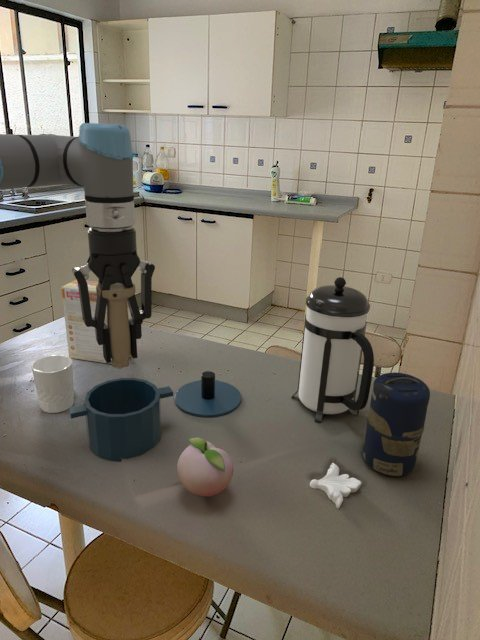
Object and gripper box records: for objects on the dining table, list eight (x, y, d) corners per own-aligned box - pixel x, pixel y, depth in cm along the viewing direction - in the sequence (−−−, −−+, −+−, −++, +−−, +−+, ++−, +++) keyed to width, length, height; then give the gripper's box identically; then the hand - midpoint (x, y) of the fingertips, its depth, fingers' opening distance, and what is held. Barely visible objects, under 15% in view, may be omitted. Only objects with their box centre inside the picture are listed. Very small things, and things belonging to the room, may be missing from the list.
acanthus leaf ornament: (331, 467, 84) (333, 459, 84) (364, 488, 80) (365, 479, 79) (305, 486, 79) (306, 477, 79) (338, 509, 75) (340, 500, 74)
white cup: (41, 419, 95) (35, 375, 91) (34, 400, 101) (28, 359, 97) (81, 408, 99) (76, 367, 95) (71, 391, 105) (67, 352, 101)
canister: (418, 484, 81) (438, 395, 74) (362, 476, 82) (378, 388, 76) (409, 450, 90) (427, 368, 83) (359, 443, 91) (372, 362, 84)
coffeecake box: (133, 354, 123) (130, 284, 116) (121, 366, 117) (116, 293, 109) (82, 347, 126) (76, 278, 119) (68, 358, 120) (60, 286, 112)
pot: (68, 430, 91) (63, 388, 88) (161, 409, 100) (160, 370, 96) (80, 473, 80) (75, 427, 77) (183, 445, 88) (183, 402, 85)
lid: (165, 391, 106) (164, 365, 104) (223, 379, 113) (224, 354, 110) (188, 426, 94) (188, 398, 92) (252, 410, 101) (254, 383, 98)
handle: (104, 359, 86) (97, 282, 80) (139, 358, 87) (135, 281, 81) (101, 372, 81) (94, 291, 76) (138, 370, 82) (134, 290, 77)
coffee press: (279, 416, 99) (290, 282, 87) (303, 383, 112) (315, 263, 101) (360, 440, 92) (384, 298, 81) (375, 402, 105) (397, 276, 94)
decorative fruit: (166, 492, 77) (164, 442, 73) (201, 468, 83) (201, 420, 79) (206, 522, 71) (207, 470, 67) (241, 494, 77) (243, 444, 73)
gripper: (58, 235, 68) (74, 375, 76) (170, 228, 75) (172, 357, 84) (52, 225, 74) (67, 357, 83) (155, 220, 81) (159, 341, 90)
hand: (120, 357), depth 83 cm, fingers closed on handle, 4 cm apart
